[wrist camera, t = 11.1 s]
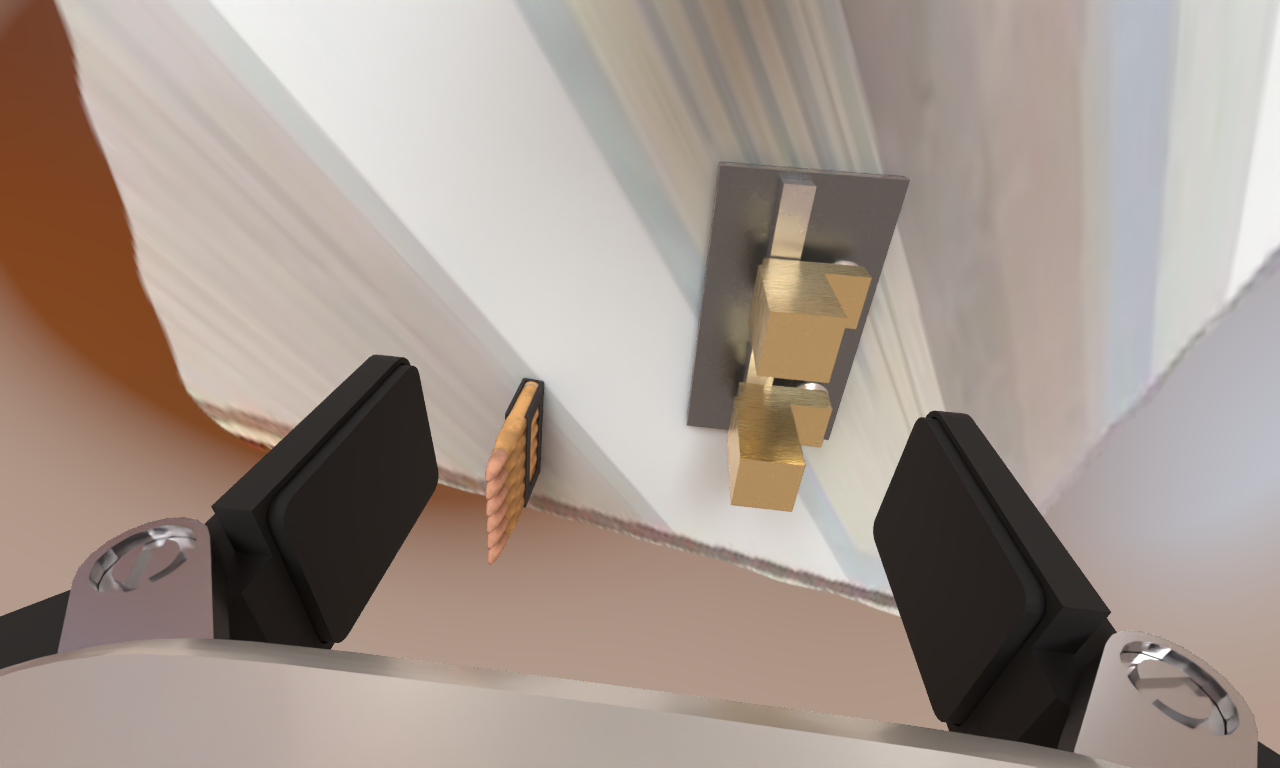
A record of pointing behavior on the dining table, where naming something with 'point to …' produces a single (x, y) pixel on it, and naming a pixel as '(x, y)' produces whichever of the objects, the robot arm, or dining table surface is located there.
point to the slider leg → (803, 316)
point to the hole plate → (724, 362)
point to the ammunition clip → (514, 464)
